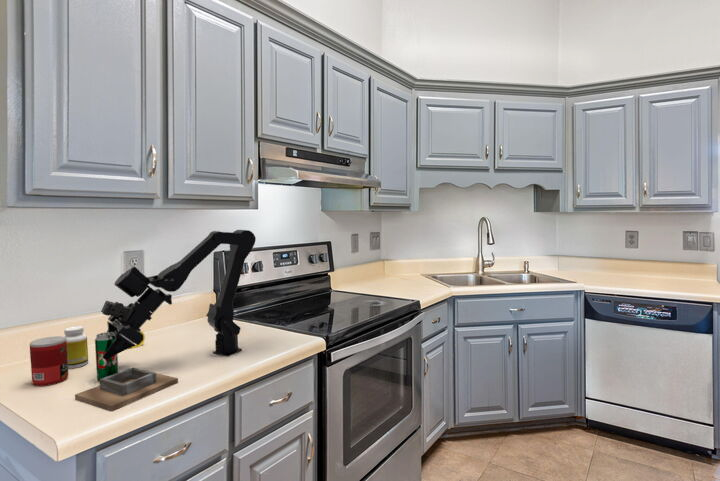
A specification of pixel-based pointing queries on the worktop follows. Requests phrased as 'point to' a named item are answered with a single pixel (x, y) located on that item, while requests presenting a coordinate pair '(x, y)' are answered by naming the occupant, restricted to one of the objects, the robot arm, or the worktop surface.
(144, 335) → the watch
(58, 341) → the canned food
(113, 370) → the soda can
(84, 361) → the pill bottle
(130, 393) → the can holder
